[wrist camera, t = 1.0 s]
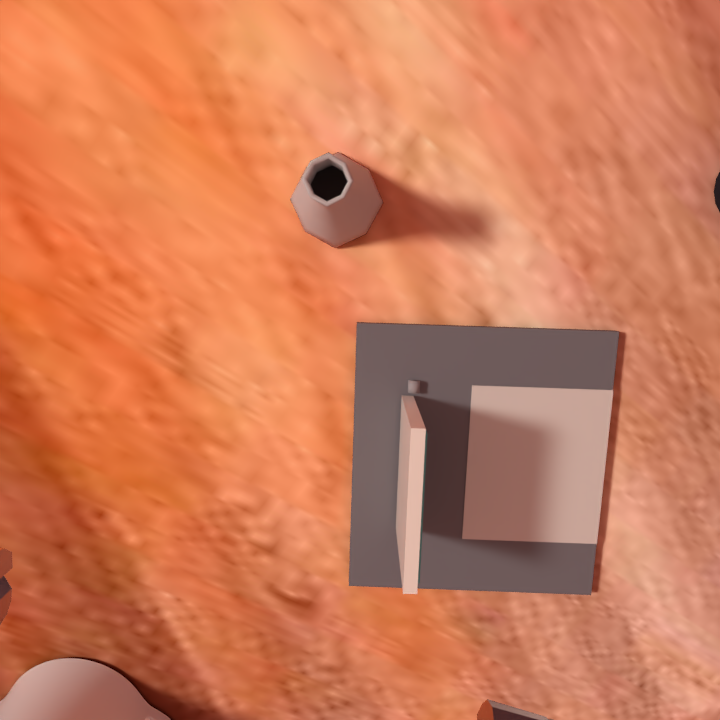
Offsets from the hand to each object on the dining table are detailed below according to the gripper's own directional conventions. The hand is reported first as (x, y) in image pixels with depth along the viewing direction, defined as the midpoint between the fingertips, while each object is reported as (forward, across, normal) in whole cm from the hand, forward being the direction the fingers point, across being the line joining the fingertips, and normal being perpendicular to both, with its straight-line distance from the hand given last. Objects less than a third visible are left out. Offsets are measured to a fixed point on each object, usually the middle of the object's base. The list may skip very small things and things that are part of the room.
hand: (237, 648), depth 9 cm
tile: (+35, +5, -15) cm, 39 cm away
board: (+37, +11, -14) cm, 41 cm away
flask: (+39, -7, +4) cm, 40 cm away
